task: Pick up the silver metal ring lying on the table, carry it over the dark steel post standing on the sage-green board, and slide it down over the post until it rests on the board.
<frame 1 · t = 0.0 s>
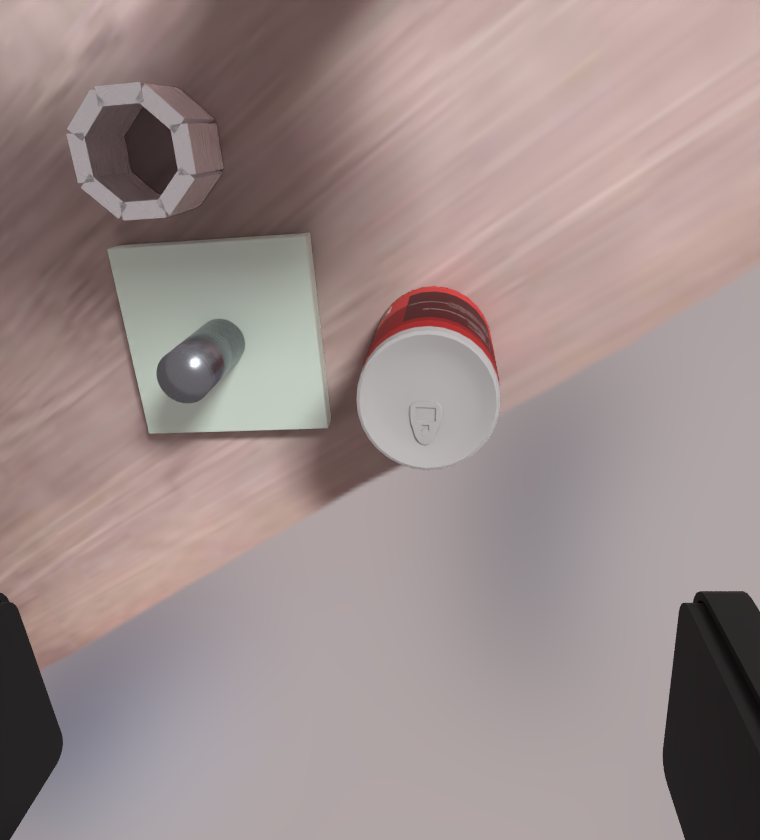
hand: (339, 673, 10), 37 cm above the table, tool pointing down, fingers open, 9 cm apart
steel post: (204, 358, 42), on the green board, point 5 cm above the table
green board: (228, 335, 47), on the table
metal ring: (165, 150, 42), on the table
canned food: (433, 341, 46), on the table
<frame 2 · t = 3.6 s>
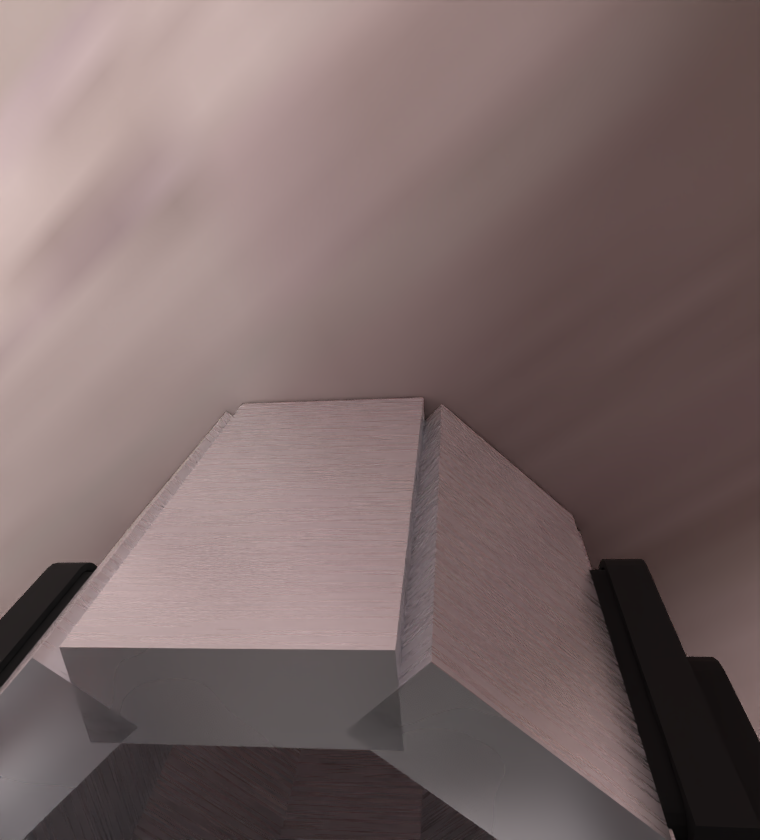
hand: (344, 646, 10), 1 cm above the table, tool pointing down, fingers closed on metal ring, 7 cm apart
metal ring: (353, 601, 11), on the table, touching gripper
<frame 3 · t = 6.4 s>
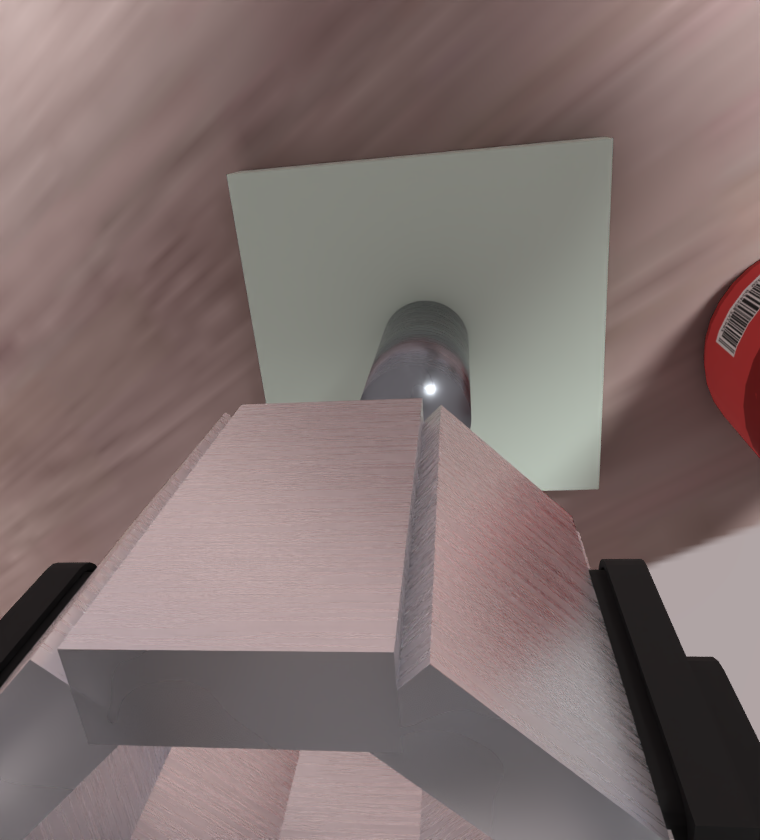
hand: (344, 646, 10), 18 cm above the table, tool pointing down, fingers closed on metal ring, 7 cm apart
steel post: (420, 375, 22), on the green board, point 5 cm above the table
green board: (427, 330, 27), on the table
metal ring: (353, 602, 11), point 17 cm above the table, touching gripper
when the fingers open (4 cm above the table, at t = 9.5 s): metal ring drops 1 cm, resting on green board.
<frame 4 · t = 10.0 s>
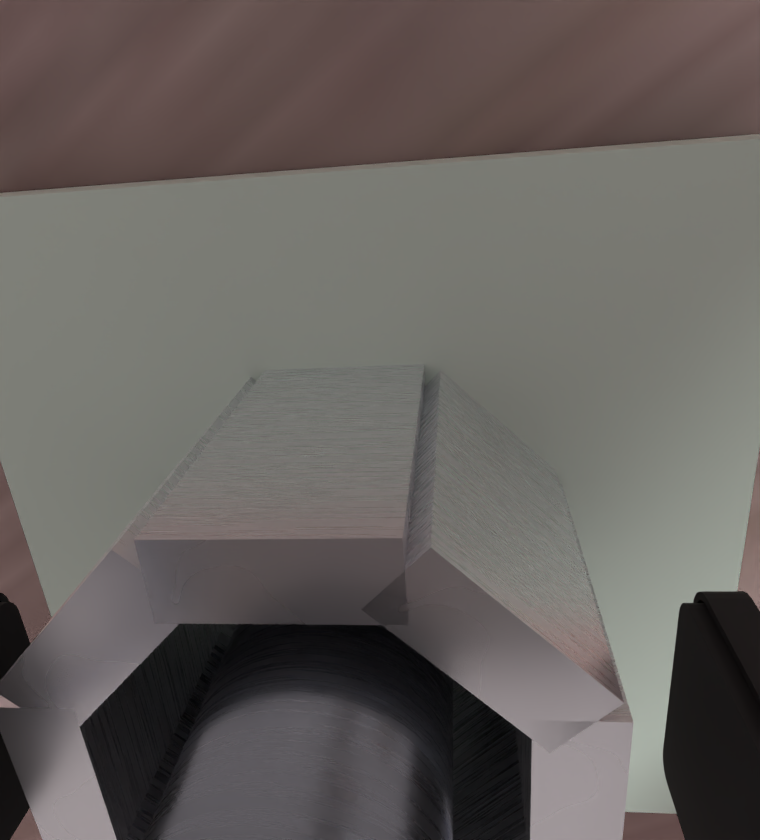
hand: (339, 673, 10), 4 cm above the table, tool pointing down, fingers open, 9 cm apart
steel post: (333, 701, 9), on the green board, point 5 cm above the table
green board: (373, 509, 14), on the table
metal ring: (361, 550, 12), point 1 cm above the table, touching green board
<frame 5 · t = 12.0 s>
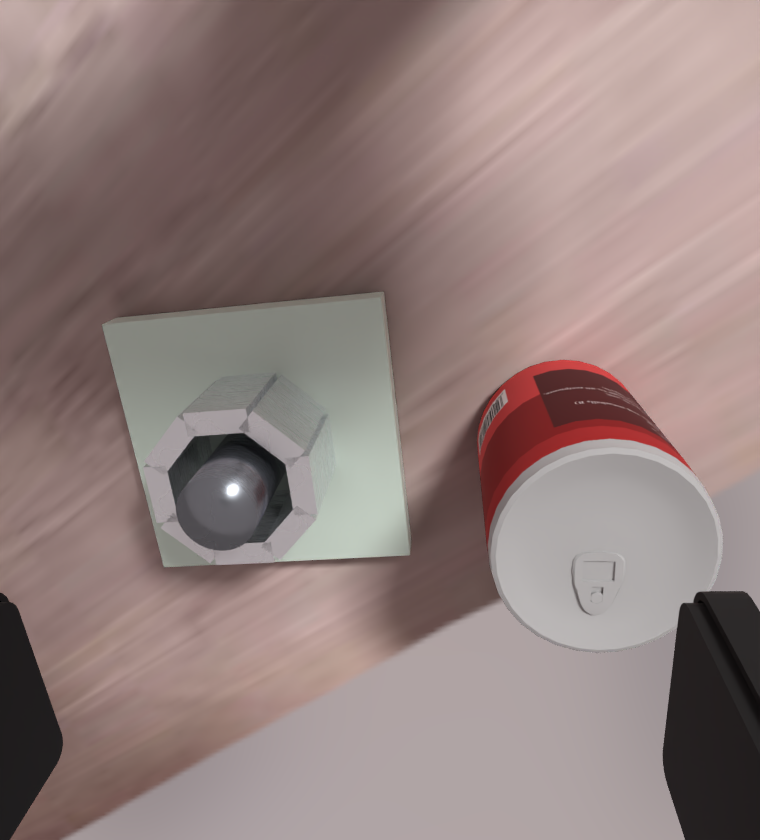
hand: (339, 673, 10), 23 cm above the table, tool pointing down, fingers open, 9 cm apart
steel post: (241, 475, 30), on the green board, point 5 cm above the table
green board: (269, 433, 34), on the table
metal ring: (261, 444, 33), point 1 cm above the table, touching green board
canned food: (555, 433, 33), on the table
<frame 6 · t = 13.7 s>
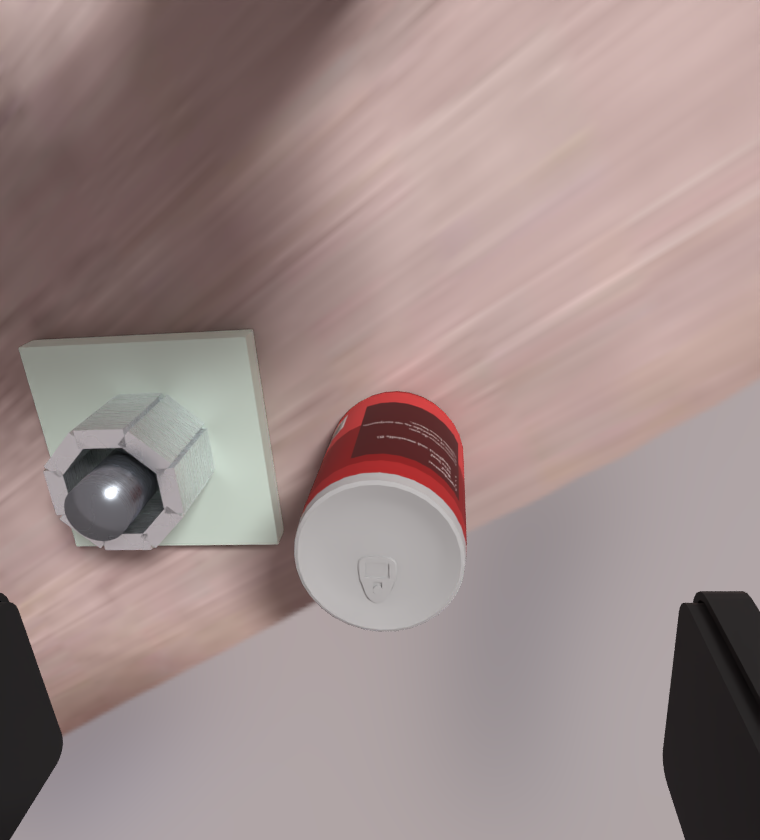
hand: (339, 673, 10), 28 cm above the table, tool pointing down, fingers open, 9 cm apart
steel post: (127, 479, 36), on the green board, point 5 cm above the table
green board: (164, 439, 41), on the table
metal ring: (152, 449, 40), point 1 cm above the table, touching green board
canned food: (397, 449, 40), on the table
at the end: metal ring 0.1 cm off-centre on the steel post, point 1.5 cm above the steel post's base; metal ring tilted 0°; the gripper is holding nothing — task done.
